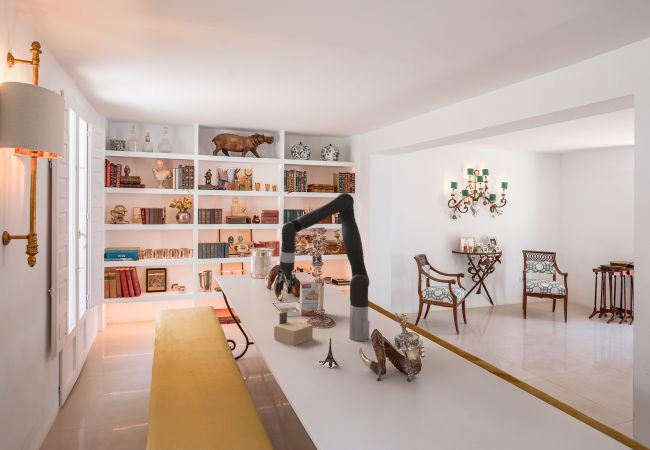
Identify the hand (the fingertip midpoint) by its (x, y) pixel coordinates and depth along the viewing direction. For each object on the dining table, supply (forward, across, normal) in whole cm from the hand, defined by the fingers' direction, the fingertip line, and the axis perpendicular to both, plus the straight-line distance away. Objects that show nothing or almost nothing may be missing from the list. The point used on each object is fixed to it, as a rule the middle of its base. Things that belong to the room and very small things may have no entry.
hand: (285, 291), depth 220 cm
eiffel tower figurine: (+22, -46, +2) cm, 51 cm away
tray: (+22, -7, -1) cm, 23 cm away
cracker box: (+23, +26, -35) cm, 49 cm away
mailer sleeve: (+22, -9, -2) cm, 24 cm away
